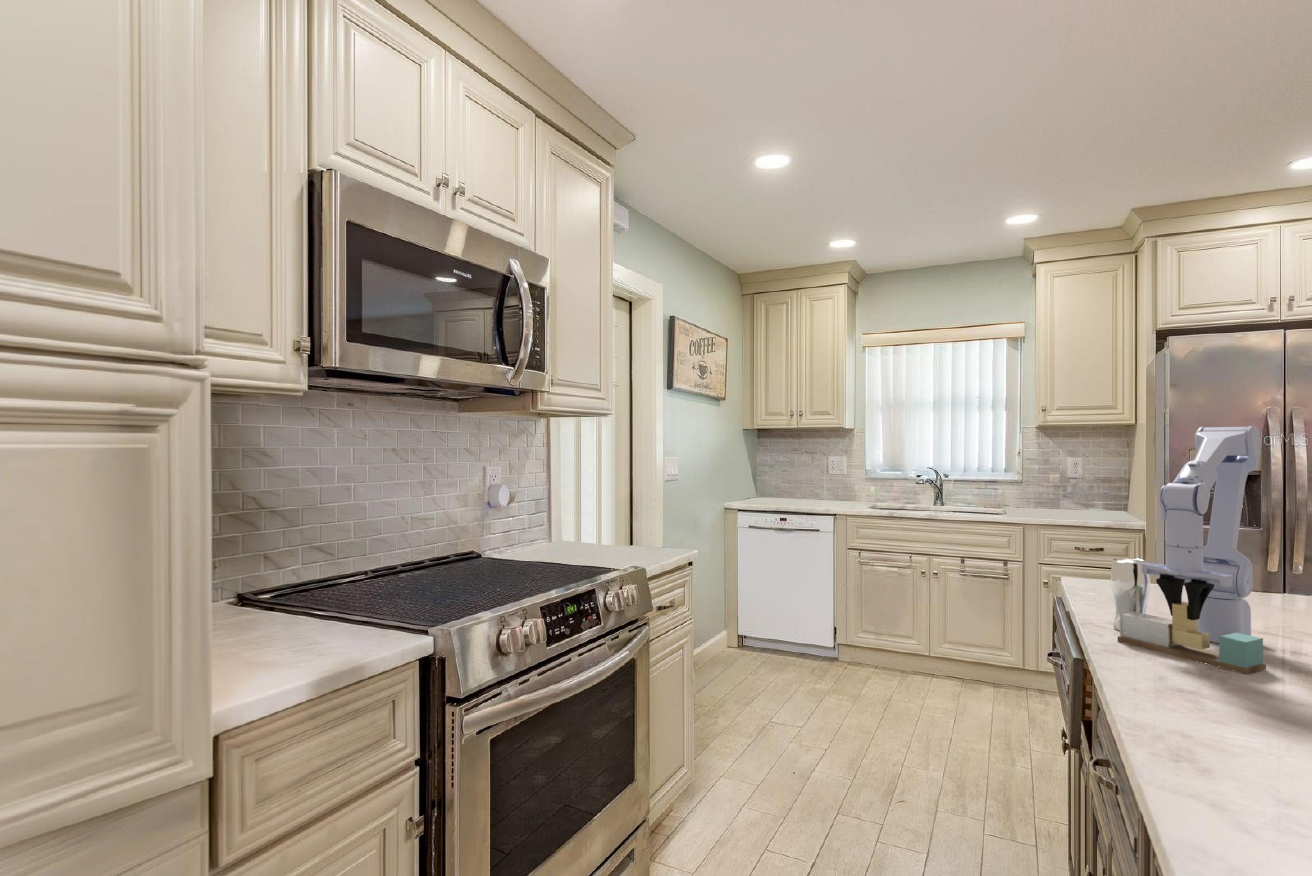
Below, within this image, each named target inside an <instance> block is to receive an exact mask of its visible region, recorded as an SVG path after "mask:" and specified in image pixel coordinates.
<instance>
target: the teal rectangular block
mask: <svg viewBox="0 0 1312 876" xmlns="http://www.w3.org/2000/svg"><path fill="white" fill-rule="evenodd" d="M1218 653H1219V662H1223V663H1227V664H1231V665H1235V666H1239V667H1243V668H1248V667H1252V666H1256V665H1260V664H1263V663H1264V638H1263V637H1258V636H1253V635H1251V636H1250V635H1245V634H1240V633H1233V634H1228V635H1223V636H1219V643H1218Z"/></svg>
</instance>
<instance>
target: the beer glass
mask: <svg viewBox="0 0 1312 876" xmlns="http://www.w3.org/2000/svg"><path fill="white" fill-rule="evenodd" d="M1142 563H1150V562H1149V560H1145V559H1140V558H1130V557H1114V558H1112V559H1111V568H1110V569H1111V570H1110V582H1111V585H1110V587H1111V591H1112V597H1113V601H1114V605H1115V606H1114V607H1115V619H1114V624H1113V628H1114V630H1116V629H1117V630H1116V631H1118V630H1120V614H1122V613H1128V612H1138V613H1142V614H1146V613H1147V607H1148V606H1147V605H1148V602H1149V598H1150V597H1149V596H1150V591H1151V574H1144V573H1141V564H1142Z"/></svg>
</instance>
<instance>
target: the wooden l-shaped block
mask: <svg viewBox="0 0 1312 876" xmlns="http://www.w3.org/2000/svg"><path fill="white" fill-rule="evenodd" d="M1171 618H1172V619H1171V620H1172V627H1170V642H1173V643H1177V644H1181V645H1185V646H1189V647H1193V648H1198V649H1205V650H1207V649H1210V647H1211V641H1210V634H1209V633H1204V632H1199V631H1198V620H1189V615H1188V601H1182V602H1177V603H1172V616H1171Z"/></svg>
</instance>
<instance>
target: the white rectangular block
mask: <svg viewBox="0 0 1312 876" xmlns="http://www.w3.org/2000/svg"><path fill="white" fill-rule="evenodd" d="M1170 627H1172V619H1170V618H1165V617H1160V616H1156V615H1151V614H1142V613H1138V612H1128V613H1122V614H1120V631H1119V636H1122V637H1126V638H1130V639H1134V640H1138V641H1142V642H1146V643H1150V644H1154V645H1158V646H1162V647H1166V648H1171V647H1175V646H1180V645H1181V644H1177V643H1173V642H1170Z"/></svg>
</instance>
